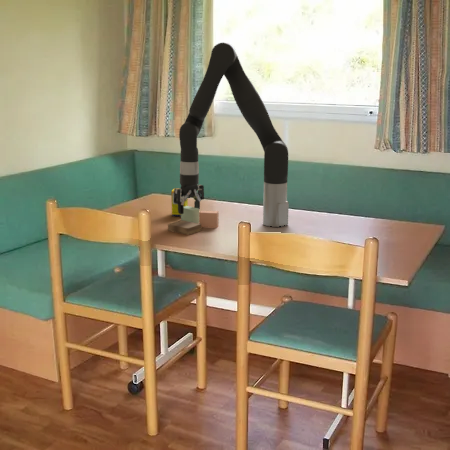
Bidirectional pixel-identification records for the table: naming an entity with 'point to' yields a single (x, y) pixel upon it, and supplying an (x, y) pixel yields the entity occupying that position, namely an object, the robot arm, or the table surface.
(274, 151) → the robot arm
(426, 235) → the table surface
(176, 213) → the supplement box
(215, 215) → the terracotta brick
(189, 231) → the walnut slab
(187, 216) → the sage brick
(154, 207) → the table surface
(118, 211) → the table surface
